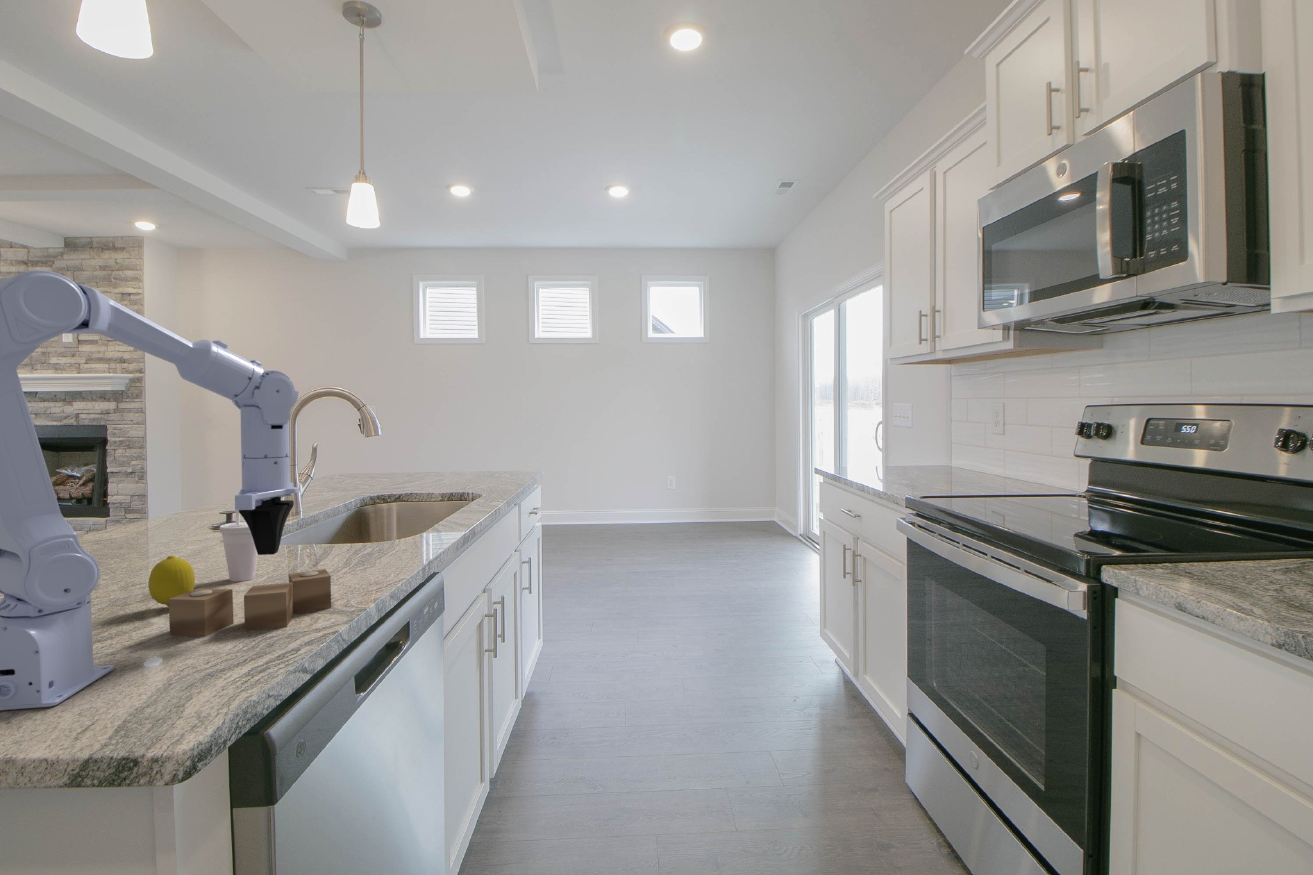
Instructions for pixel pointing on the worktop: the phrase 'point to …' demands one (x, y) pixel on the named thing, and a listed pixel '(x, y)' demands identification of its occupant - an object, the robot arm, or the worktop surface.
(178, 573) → the lemon
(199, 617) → the dotted block
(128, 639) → the worktop surface
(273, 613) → the plain block
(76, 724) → the worktop surface
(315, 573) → the dotted block
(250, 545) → the smoothie
